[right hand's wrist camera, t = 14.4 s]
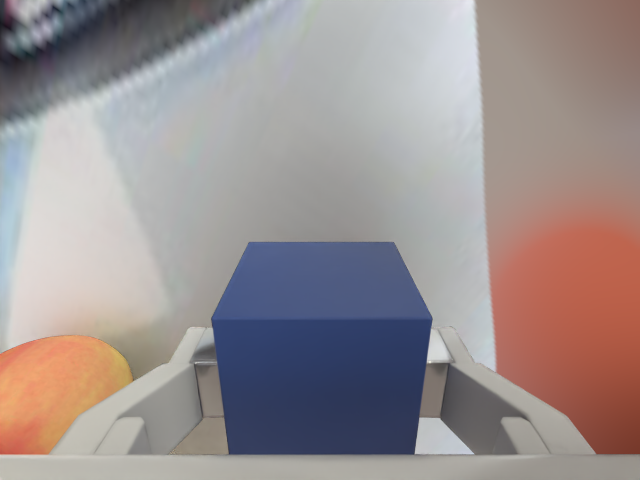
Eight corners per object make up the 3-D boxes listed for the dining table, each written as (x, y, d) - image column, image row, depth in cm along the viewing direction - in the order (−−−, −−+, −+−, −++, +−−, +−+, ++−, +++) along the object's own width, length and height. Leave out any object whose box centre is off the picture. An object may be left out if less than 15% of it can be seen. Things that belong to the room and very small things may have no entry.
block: (384, 364, 13) (411, 479, 9) (258, 364, 13) (231, 479, 9) (394, 241, 12) (433, 318, 8) (248, 241, 12) (210, 318, 8)
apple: (157, 415, 29) (79, 566, 20) (35, 398, 28) (-106, 544, 19) (160, 315, 25) (68, 439, 16) (21, 292, 25) (-159, 409, 16)
